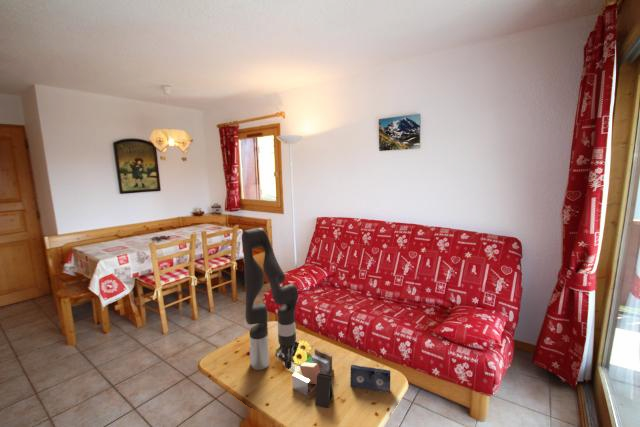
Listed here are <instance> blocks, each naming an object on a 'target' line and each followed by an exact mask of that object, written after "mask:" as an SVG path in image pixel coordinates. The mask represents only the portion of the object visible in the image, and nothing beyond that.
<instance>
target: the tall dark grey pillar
mask: <svg viewBox="0 0 640 427" xmlns="http://www.w3.org/2000/svg"><path fill="white" fill-rule="evenodd" d="M312 361H313V362H314V363H317V364H318V365H319V369H320V373H321V374H326V375H331V378H332V377H333V376H334V375H335V370H334V369H333V355H332V354H330V353H327V352H325V351H322V350H321V349H318V348H315V349H314V354H313V355H312V356H311V362H312ZM316 386H317V384H314V386H313V387H312V388H310V391H309V392H308V393H307V396H306V397H307V399H308V400H310V399H311V398H312V397H313V396H314V395H316Z"/></svg>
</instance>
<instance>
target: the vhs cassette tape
mask: <svg viewBox="0 0 640 427" xmlns="http://www.w3.org/2000/svg"><path fill="white" fill-rule="evenodd" d="M349 379H350V385H349V386H350V387H351V388H357V389H362V390H370V391H375V392H380V391H381V392H380V393H386V392H390V393H391V370H388V369H384V368H383V369H382V368H377V367H376V368H375V367H371V366H370V367H368V366H362V365H361V366H360V365H355V364H351V365H350V378H349Z"/></svg>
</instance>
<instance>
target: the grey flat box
mask: <svg viewBox="0 0 640 427" xmlns="http://www.w3.org/2000/svg"><path fill="white" fill-rule="evenodd" d="M292 389H293V390H295V391H297V392H298V393H301V394H303V395H304V396H306V397H307V393H308V392H309V391H310V390H311V383H310V380H309V379H307V378H305V377H303V376H302V374H299V373H297V372H294V373H293V374H292Z"/></svg>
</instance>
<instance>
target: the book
mask: <svg viewBox="0 0 640 427" xmlns="http://www.w3.org/2000/svg"><path fill="white" fill-rule="evenodd" d="M299 368H300V369H299V370H300V371H301V372H300V373H301V376H303V377H305V378H307V379H309V380H310V385H311V384H313V385H316V384H317V375H318V373H320V369H319V365H318V364H317V363H312V362H306V361H304V362H302V363H301V364H300V365H299Z"/></svg>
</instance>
